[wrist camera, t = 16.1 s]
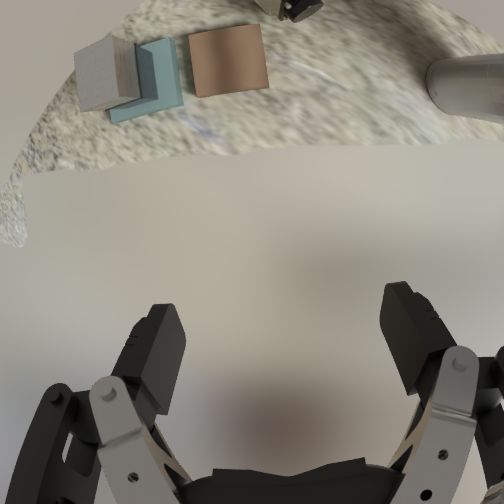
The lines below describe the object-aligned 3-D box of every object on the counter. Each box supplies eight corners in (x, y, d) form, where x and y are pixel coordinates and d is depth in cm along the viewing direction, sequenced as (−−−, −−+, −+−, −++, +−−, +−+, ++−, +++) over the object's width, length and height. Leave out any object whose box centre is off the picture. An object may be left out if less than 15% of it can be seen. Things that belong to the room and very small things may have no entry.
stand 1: (174, 41, 28) (169, 37, 26) (183, 105, 33) (178, 104, 31) (111, 62, 29) (103, 60, 27) (120, 122, 34) (111, 123, 31)
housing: (152, 51, 27) (113, 34, 17) (159, 99, 30) (120, 97, 20) (119, 63, 27) (73, 53, 18) (126, 109, 31) (79, 113, 21)
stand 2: (259, 29, 27) (259, 23, 25) (268, 88, 32) (269, 86, 29) (192, 39, 28) (188, 35, 26) (200, 97, 32) (196, 97, 30)
